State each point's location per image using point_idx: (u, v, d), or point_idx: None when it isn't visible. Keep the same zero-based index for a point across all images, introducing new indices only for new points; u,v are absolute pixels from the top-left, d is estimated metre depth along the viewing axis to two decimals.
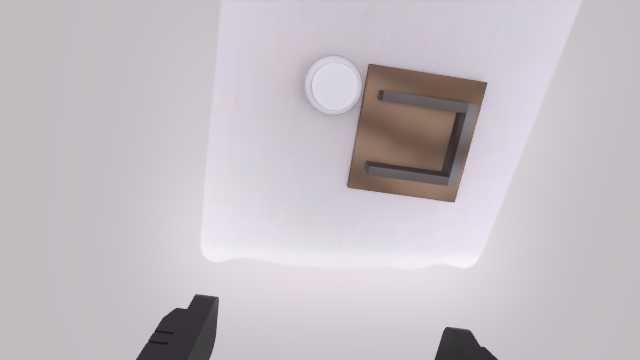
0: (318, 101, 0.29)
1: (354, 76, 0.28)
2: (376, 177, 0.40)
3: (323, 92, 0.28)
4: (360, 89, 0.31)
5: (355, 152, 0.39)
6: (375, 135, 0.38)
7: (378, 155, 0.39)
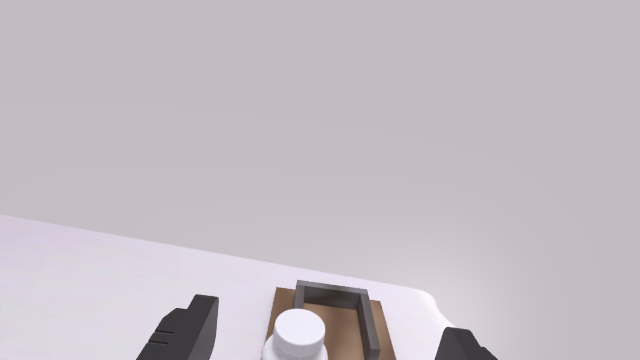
0: (318, 338, 0.25)
1: (288, 310, 0.28)
2: (380, 358, 0.36)
3: (308, 334, 0.25)
4: None
5: None
6: None
7: (356, 357, 0.35)
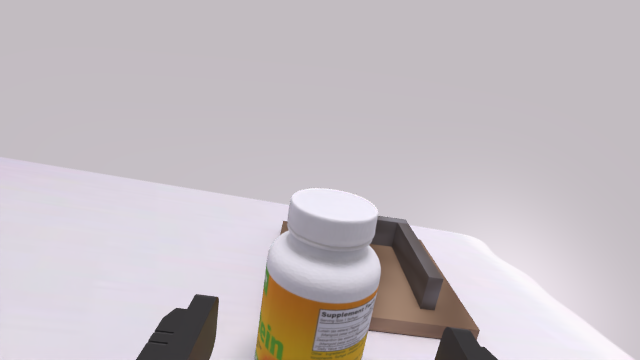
0: (369, 217, 0.14)
1: (312, 188, 0.17)
2: (437, 297, 0.25)
3: (350, 211, 0.14)
4: None
5: (414, 320, 0.22)
6: None
7: (403, 295, 0.24)
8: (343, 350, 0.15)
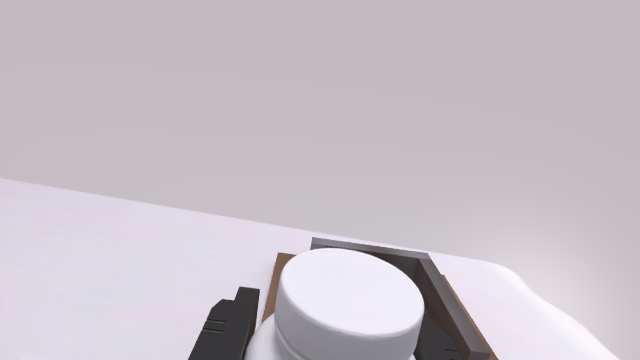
0: (413, 318, 0.08)
1: (315, 250, 0.11)
2: None
3: (379, 306, 0.08)
4: None
5: None
6: None
7: None
8: None
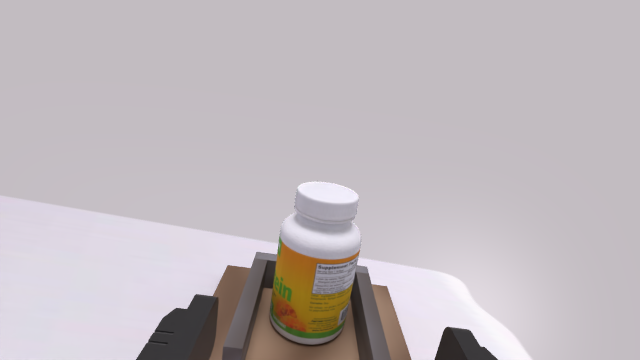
0: (351, 200, 0.20)
1: (312, 182, 0.23)
2: None
3: (338, 197, 0.21)
4: None
5: None
6: None
7: None
8: (334, 294, 0.21)
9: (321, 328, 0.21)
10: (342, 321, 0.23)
